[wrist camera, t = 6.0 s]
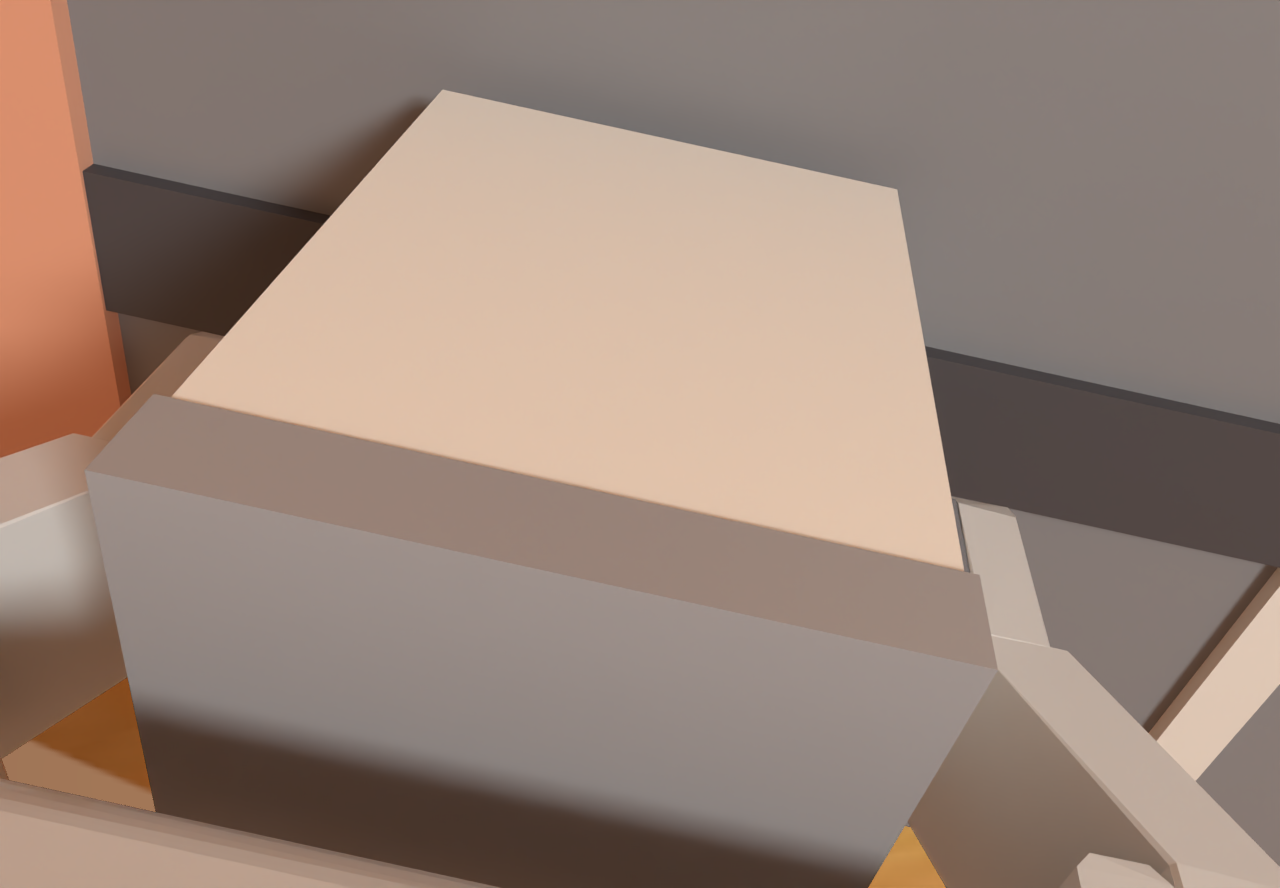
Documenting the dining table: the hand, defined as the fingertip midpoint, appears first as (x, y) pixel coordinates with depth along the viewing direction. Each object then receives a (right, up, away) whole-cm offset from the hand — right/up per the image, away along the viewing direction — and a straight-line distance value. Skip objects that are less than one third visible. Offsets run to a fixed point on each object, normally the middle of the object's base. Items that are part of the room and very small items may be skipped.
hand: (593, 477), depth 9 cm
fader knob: (0, +1, +1) cm, 2 cm away
